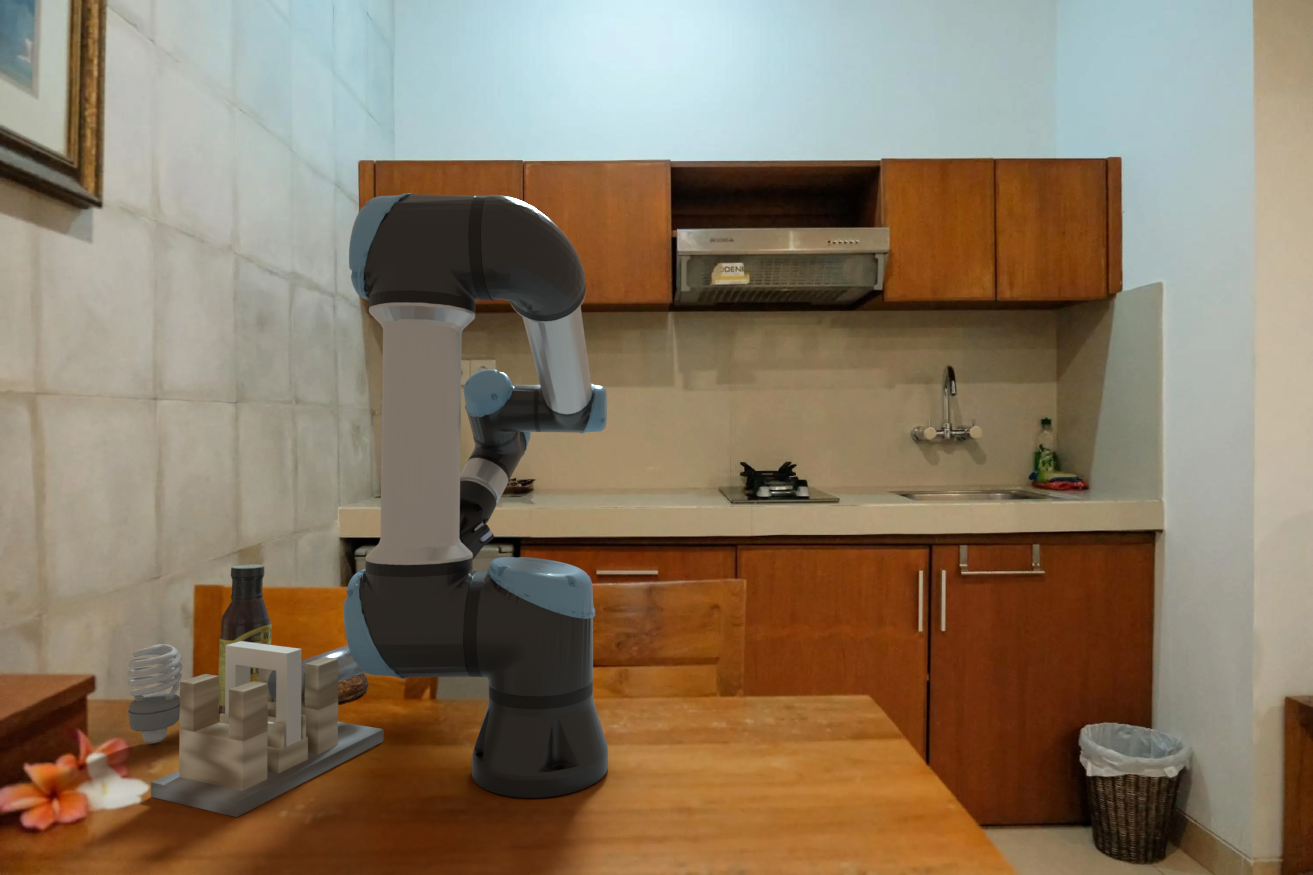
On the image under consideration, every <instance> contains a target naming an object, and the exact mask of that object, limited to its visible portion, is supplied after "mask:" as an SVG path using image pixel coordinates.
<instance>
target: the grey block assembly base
mask: <svg viewBox="0 0 1313 875" xmlns="http://www.w3.org/2000/svg"><path fill="white" fill-rule="evenodd" d="M272 671H273V670H269V669H262V668H259V682H255V681H253V682H250V683H247V684H244V685H241V686H238V687H235V688H232V689H229V714H223V713H222V714H220V716H219V675H215V674H208V673H205V674H204V673H203V674H200V675H197V676H193V677H191V678H188V679H185V680H180V681H179V697H180V716H179V746H178V747H179V752H178V753H179V755H178V757H179V760H178V761H179V764H178V765H179V767H178V768H179V770H177V771H175V772H172V773H170V774H167V775H165V776H162V777H160V778H158V779H155V780H152V781H151V782H150V797H151V798H155V799H157V800H158V799H160V800H162V801H163V800H164V801H167V802H172V803H176V804H180V805H184V806H189V807H192V808H196V809H201V810H206V811H209V812H213V813H217V814H223V815H226V816H230V817H234V818H238V817H240V816H242V815H244V814H246V813H247V812H250V811H251V810H253V809H255V808H257V807H259V806H261V805H263V804H265V803H267V802H269V801H271V800H272V799H275V798H277V797H279V796H281V795H283V794H284V793H287V792H289V791H290V790H292V789H294V788H296V787H298V786H300V785H302V784H303V783H305V782H308V781H310V780H311V779H313V778H315V777H317V776H319V775H321V774H323V773H325V772H327V771H329V770H331V769H332V768H335V767H337V766H338V765H341V764H342V763H344V762H347V761H348V760H351V759H352V758H354V757H356V756H358V755H360V754H362V753H364V752H366V751H368V750H369V749H372V748H373V747H375V746H377V745H379V744H381V743H383V742H384V729H383V728H379V727H371V726H366V725H361V724H355V723H348V722H343V721H342V722H341V721H339V703H338V659H335V658H327V657H324V658H321V659H318V660H315V661H312V662H309V663H306V664H305V697H301V740H300V741H298V742H296V743H293V744H291V745H289V746H287V747H286V746H284V724H280V723H274V722H269V721H268V716H270V717H276V701H275V700H274V699H273V698H272V697H271V695H270V693H269V689H268V679H269V676H270V674H271V672H272Z"/></svg>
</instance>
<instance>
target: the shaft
mask: <svg viewBox="0 0 1313 875" xmlns="http://www.w3.org/2000/svg"><path fill="white" fill-rule="evenodd" d="M324 657H327V658H335V659H338V683H339V682H342V681H344V680H347V679H349V678H352V677H355V676H357V675H360V674H362V673H364V674H367V673H366V672H365V671H363V670H362V669H361V668H360V667H359V666H358V664H357V662H356V661H355V660H354V659H353V657H352V655H351V652H350V650H349V647H348V644H346V645H344V646H341V647H337V648H335V649H332V650H329V651H325V652H323V653H320V654H317V655H313V656H311V657H307V658H305V659H301V697H303V696H305V664H306V663H309V662H312V661H315V660H318V659H321V658H324ZM268 689H269V693H270V695H271V697H272V698H273V699H274V700H275V701H276V670H273V671H272V672H271V674H270V676H269V679H268Z"/></svg>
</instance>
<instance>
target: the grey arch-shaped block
mask: <svg viewBox="0 0 1313 875" xmlns="http://www.w3.org/2000/svg"><path fill="white" fill-rule="evenodd" d="M302 652H303V651H302V648H296V647H289V646H282V645H281V646H280V645H275V644H271V645H267V644H259V643H252V642H244V641H239V642H236V643H232V644H228V645H226V650H225V714H229V689H232V688H235V687H238V686H241V685H244V684H247V683H250V667H255V668H262V669H269V670H276V717H270V716H268V721H269V722H274V723H280V724H284V746H286V747H287V746H289V745H291V744H293V743H296V742H298V741H300V740H301V660H302Z"/></svg>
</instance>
